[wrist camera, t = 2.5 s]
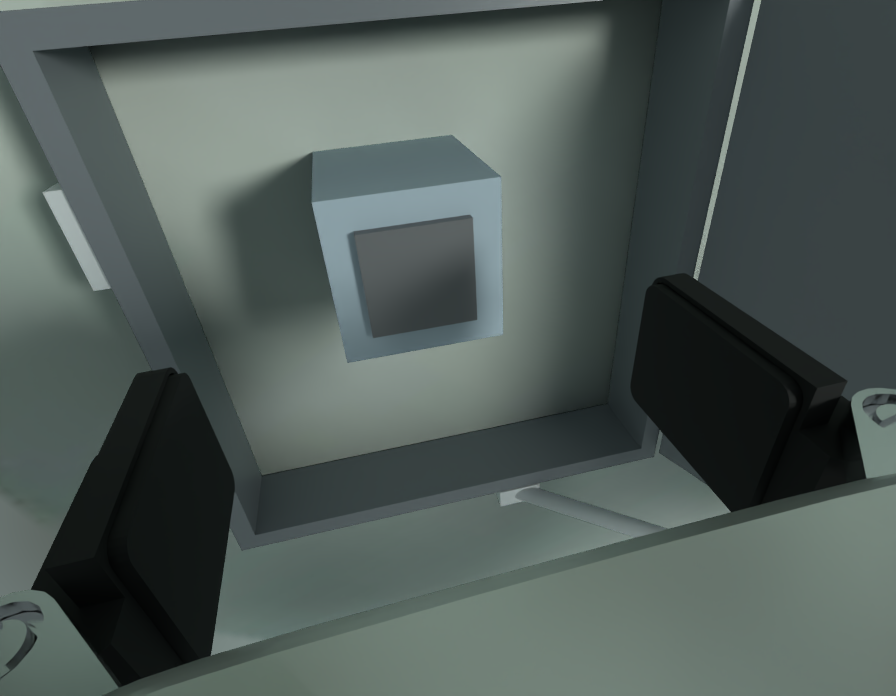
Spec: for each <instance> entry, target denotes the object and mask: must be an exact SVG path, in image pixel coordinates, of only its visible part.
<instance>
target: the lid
mask: <svg viewBox="0 0 896 696" xmlns="http://www.w3.org/2000/svg"><path fill="white" fill-rule="evenodd" d="M698 281H699V282H700V283H702V284H703V285H705V286H706V287H708V288H709V289H711V290H712V291H714V292H715V293H717V294H718V295H720V296H721V297H723V298H724V299H726V300H727V301H729V302H730V303H732V304H733V305H735V306H736V307H738V308H739V309H741V310H742V311H744V312H745V313H747V314H748V315H750V316H751V317H753V318H754V319H756V320H757V321H759V322H760V323H762V324H763V325H765V326H766V327H768V328H769V329H771V330H772V331H774V332H775V333H777V334H778V335H780V336H781V337H783V338H784V339H786V340H787V341H789V342H790V343H792V344H793V345H795V346H796V347H798V348H799V349H801V350H802V351H804V352H805V353H807V354H808V355H810V356H811V357H813V358H814V359H816V360H817V361H819V362H820V363H822V364H823V365H825V366H826V367H828V368H829V369H831V370H832V371H834V372H835V373H837V374H838V375H840V376H841V377H843V378H844V379H846V380H847V381H848V382H847V384H846V386H845V388H844V390H843V392H842V394H841V395H842V396H843V397H845V398H846V399H847V400H849V401H850V400H851V398H852V397H853V396H854V395H855V394H856V393H857V392H859V391H862V390H865V389H870V388H887V389H895V390H896V0H761V4H760V9H759V13H758V18H757V22H756V26H755V31H754V35H753V40H752V44H751V48H750V53H749V57H748V62H747V66H746V71H745V75H744V79H743V84H742V88H741V93H740V97H739V101H738V106H737V110H736V115H735V119H734V123H733V128H732V132H731V137H730V141H729V146H728V150H727V154H726V159H725V163H724V168H723V172H722V176H721V181H720V185H719V190H718V194H717V198H716V203H715V207H714V212H713V216H712V220H711V225H710V229H709V234H708V238H707V243H706V247H705V251H704V256H703V260H702V265H701V269H700V273H699V278H698ZM659 453H660V454H662V455H663V456H665V457H666V458H668V459H669V460H671V461H672V462H674V463H675V464H677V465H678V466H680V467H681V468H683V469H684V470H686V471H687V472H689V473H690V474H692V475H693V476H695V477H696V478H698V479H699V480H701V481H702V482H704V483H705V484H706V482H705V481H704V480H703V479H702V478H701V477H700V475H699V474H698V473H697V472H696V471H695V470H694V469H693V467H692V466H691V465H690V464H689V463H688V462H687V460H686V459H685V458H684V457H683V456H682V455H681V454H680V452H679V451H678V450H677V449H676V448H675V447H674V445H673V444H672V443H671V442H670V441H669V440H668V439H667V437H666V436H665V435H664V434H663V437H662V441H661V445H660V450H659Z"/></svg>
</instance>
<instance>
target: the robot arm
mask: <svg viewBox="0 0 896 696" xmlns="http://www.w3.org/2000/svg"><path fill="white" fill-rule="evenodd" d="M847 382H848V381H847V380H846V379H844V378H843V377H841V376H840V375H838V374H837V373H835V372H834V371H832V370H831V369H829V368H828V367H826V366H825V365H823V364H822V363H820V362H819V361H817V360H816V359H814V358H813V357H811V356H810V355H808V354H807V353H805V352H804V351H802V350H801V349H799V348H798V347H796V346H795V345H793V344H792V343H790V342H789V341H787V340H786V339H784V338H783V337H781V336H780V335H778V334H777V333H775V332H774V331H772V330H771V329H769V328H768V327H766V326H765V325H763V324H762V323H760V322H759V321H757V320H756V319H754V318H753V317H751V316H750V315H748V314H747V313H745V312H744V311H742V310H741V309H739V308H738V307H736V306H735V305H733V304H732V303H730V302H729V301H727V300H726V299H724V298H723V297H721V296H720V295H718V294H717V293H715V292H714V291H712V290H711V289H709V288H708V287H706V286H705V285H703V284H702V283H700V282H699V281H697V280H696V279H694V278H693V277H691V276H690V275H688V274H685V273H679V274H674V275H669V276H663V277H658V278H657V279H655V280H654V282H653V283H652V285H651V286H649V287H648V288H647V290H646V293H645V299H644V305H643V311H642V317H641V323H640V329H639V335H638V341H637V347H636V353H635V359H634V365H633V371H632V377H631V383H630V389H631V394H632V396H633V399H634V400H635V402H636V403H637V404H638V405H639V406H640V407H641V408H642V410H643V411H644V412H645V413H646V414H647V415H648V417H649V418H650V419H651V420H652V421H653V422H654V423H655V425H656V426H657V427H658V428H659V429H660V430H661V432H662V433H663V434H664V435H665V436H666V437H667V439H668V440H669V441H670V442H671V443H672V444H673V445H674V447H675V448H676V449H677V450H678V451H679V452H680V454H681V455H682V456H683V457H684V458H685V459H686V460H687V462H688V463H689V464H690V465H691V466H692V467H693V469H694V470H695V471H696V472H697V473H698V474H699V475H700V477H701V478H702V479H703V480H704V481H705V482H706V484H707V485H708V486H709V487H710V488H711V489H712V490H713V492H714V493H715V494H716V495H717V496H718V497H719V499H720V500H721V501H722V502H723V503H724V504H725V505H726V507H727V508H728V509H729V510H730V511H731V513H727V514H723V515H720V516H716V517H712V518H708V519H704V520H701V521H697V522H693V523H689V524H685V525H682V526H678V527H674V528H670V529H667V530H663V531H659V532H655V533H651V534H648V535H644V536H640V537H637V538H633V539H629V540H625V541H622V542H618V543H614V544H611V545H607V546H603V547H599V548H596V549H592V550H588V551H584V552H581V553H577V554H573V555H570V556H566V557H562V558H559V559H555V560H551V561H547V562H544V563H540V564H536V565H533V566H529V567H525V568H522V569H518V570H514V571H511V572H507V573H503V574H499V575H496V576H492V577H488V578H485V579H481V580H477V581H474V582H470V583H466V584H463V585H459V586H456V587H452V588H448V589H445V590H441V591H437V592H434V593H430V594H426V595H423V596H419V597H416V598H412V599H408V600H405V601H401V602H397V603H394V604H390V605H387V606H383V607H379V608H376V609H372V610H368V611H365V612H361V613H358V614H354V615H350V616H347V617H343V618H339V619H336V620H332V621H329V622H325V623H321V624H318V625H314V626H311V627H307V628H304V629H300V630H297V631H294V632H290V633H287V634H283V635H280V636H276V637H273V638H270V639H266V640H263V641H259V642H256V643H253V644H249V645H246V646H242V647H239V648H236V649H232V650H229V651H225V652H222V653H218V654H215V655H212V656H211V651H212V643H213V637H214V630H215V624H216V617H217V610H218V603H219V596H220V589H221V582H222V575H223V568H224V562H225V555H226V548H227V541H228V534H229V527H230V520H231V513H232V507H233V500H234V493H235V481H234V476H233V473H232V470H231V468H230V466H229V463H228V461H227V459H226V457H225V455H224V452H223V450H222V448H221V446H220V443H219V441H218V439H217V437H216V435H215V432H214V430H213V428H212V426H211V423H210V421H209V419H208V417H207V415H206V412H205V410H204V408H203V406H202V403H201V401H200V399H199V397H198V395H197V392H196V390H195V388H194V386H193V383H192V381H191V379H190V377H189V376H188V375H187V373H180V374H178V373H177V371H176V370H175V369H174V368H172V367H169V368H164V369H158V370H153V371H148V372H142V373H138V374H137V375H136V376H135V377H134V380H133V382H132V384H131V386H130V388H129V390H128V392H127V394H126V397H125V399H124V401H123V403H122V405H121V407H120V409H119V411H118V414H117V416H116V418H115V420H114V422H113V424H112V426H111V428H110V431H109V433H108V435H107V437H106V439H105V441H104V443H103V445H102V448H101V450H100V452H99V454H98V455H97V456H96V457H95V458H94V460H93V461H92V463H91V464H90V467H89V469H88V471H87V473H86V475H85V477H84V479H83V481H82V483H81V485H80V488H79V490H78V492H77V494H76V496H75V498H74V500H73V502H72V504H71V506H70V509H69V511H68V513H67V515H66V517H65V519H64V521H63V523H62V525H61V527H60V529H59V532H58V534H57V536H56V538H55V540H54V542H53V544H52V546H51V549H50V551H49V553H48V555H47V557H46V559H45V561H44V563H43V565H42V568H41V569H40V572H39V573H38V576H37V578H36V580H35V582H34V584H33V586H32V588H31V590H25V591H20V592H14V593H10V594H8V595H6V596H3V597H0V696H896V390H895V389H887V388H870V389H865V390H862V391H859V392H857V393H856V394H855V395H854V396H853V397H852V398H851V400H850V401H849V400H847V399H846V398H845V397H843V396H842V395H841V394H842V392H843V390H844V388H845V386H846V384H847Z"/></svg>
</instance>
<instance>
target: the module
mask: <svg viewBox="0 0 896 696" xmlns="http://www.w3.org/2000/svg"><path fill="white" fill-rule="evenodd" d="M312 207H313V211H314V215H315V220H316V224H317V229H318V233H319V238H320V242H321V247H322V251H323V256H324V260H325V265H326V269H327V273H328V278H329V282H330V287H331V291H332V296H333V300H334V305H335V309H336V314H337V318H338V323H339V327H340V332H341V336H342V340H343V345H344V349H345V354H346V358H347V363H349V362H355V361H360V360H366V359H371V358H377V357H382V356H388V355H394V354H399V353H405V352H410V351H416V350H421V349H427V348H432V347H438V346H443V345H449V344H454V343H460V342H465V341H471V340H476V339H482V338H487V337H493V336H498V335H503V284H502V202H501V176H500V175H498V174H497V173H496V172H495V171H494V170H493V169H491V168H490V167H489V166H488V165H487V164H486V163H484V162H483V161H482V160H481V159H480V158H478V157H477V156H476V155H475V154H474V153H473V152H471V151H470V150H469V149H468V148H467V147H466V146H464V145H463V144H462V143H461V142H460V141H458V140H457V139H456V138H455V137H454V136H453V135H447V136H439V137H431V138H423V139H415V140H406V141H398V142H390V143H382V144H374V145H366V146H357V147H349V148H341V149H333V150H325V151H316V152H313V162H312Z"/></svg>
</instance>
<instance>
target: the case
mask: <svg viewBox="0 0 896 696" xmlns="http://www.w3.org/2000/svg"><path fill="white" fill-rule="evenodd" d="M589 1H601V0H138V1H125V2H112V3H100V4H87V5H74V6H61V7H48V8H35V9H23V10H10V11H0V65H1V67H2V69H3V71H4V73H5V75H6V77H7V79H8V81H9V83H10V85H11V87H12V89H13V91H14V93H15V95H16V97H17V99H18V101H19V103H20V105H21V107H22V109H23V111H24V113H25V115H26V117H27V119H28V121H29V123H30V125H31V127H32V129H33V131H34V133H35V135H36V137H37V139H38V141H39V143H40V145H41V148H42V150H43V152H44V154H45V156H46V158H47V160H48V162H49V164H50V166H51V168H52V170H53V172H54V174H55V176H56V178H57V180H58V183H56V184H55V185H53V186H51V187H50V188H48V189H47V190H45V191H44V192H42V193H43V195H44V196H45V198H46V200H47V202H48V204H49V206H50V208H51V210H52V212H53V214H54V216H55V218H56V220H57V221H58V223H59V225H60V227H61V229H62V231H63V233H64V235H65V237H66V239H67V241H68V243H69V245H70V246H71V248H72V250H73V252H74V254H75V256H76V258H77V260H78V262H79V264H80V266H81V268H82V269H83V271H84V273H85V275H86V277H87V279H88V281H89V283H90V285H91V287H92V289H93V291H98V290H104V289H111V288H112V290H113V292H114V294H115V296H116V298H117V300H118V302H119V304H120V307H121V309H122V311H123V313H124V315H125V317H126V319H127V321H128V323H129V325H130V327H131V329H132V331H133V333H134V335H135V337H136V339H137V341H138V343H139V345H140V347H141V349H142V351H143V353H144V355H145V357H146V359H147V361H148V363H149V365H150V367H151V369H152V371H153V370H158V369H164V368H169V367H172V368H174V369H175V370H176V371H177V373H178V374H180V373H187V375H188V376H189V377H190V379H191V381H192V383H193V386H194V388H195V390H196V392H197V395H198V397H199V399H200V401H201V403H202V406H203V408H204V410H205V412H206V415H207V417H208V419H209V421H210V423H211V426H212V428H213V430H214V432H215V435H216V437H217V439H218V441H219V443H220V446H221V448H222V450H223V452H224V455H225V457H226V459H227V461H228V463H229V466H230V468H231V470H232V473H233V476H234V481H235V493H234V500H233V507H232V513H231V520H230V528H231V530H232V532H233V534H234V536H235V538H236V540H237V542H238V544H239V546H240V548H241V550H246V549H251V548H255V547H259V546H264V545H268V544H273V543H277V542H281V541H286V540H290V539H295V538H299V537H303V536H308V535H312V534H317V533H321V532H325V531H330V530H334V529H338V528H343V527H347V526H352V525H356V524H360V523H365V522H369V521H374V520H378V519H382V518H387V517H391V516H396V515H400V514H404V513H409V512H413V511H418V510H422V509H426V508H431V507H435V506H439V505H444V504H448V503H453V502H457V501H461V500H466V499H470V498H475V497H479V496H483V495H488V494H492V493H496V496H497V498H498V501H499V504H500V506H505V505H510V504H514V503H518V502H523V501H524V502H527V503H531V504H534V505H537V506H540V507H543V508H546V509H549V510H552V511H555V512H558V513H561V514H564V515H567V516H570V517H573V518H576V519H580V520H583V521H586V522H589V523H592V524H595V525H598V526H601V527H604V528H607V529H610V530H613V531H616V532H619V533H622V534H625V535H629V536H632V537H635V538H637V537H640V536H644V535H648V534H651V533H655V532H659V531H663V530H667V528H664V527H661V526H658V525H654V524H651V523H648V522H645V521H642V520H638V519H635V518H632V517H629V516H626V515H622V514H619V513H616V512H613V511H610V510H606V509H603V508H600V507H597V506H594V505H590V504H587V503H584V502H581V501H577V500H574V499H571V498H568V497H565V496H561V495H558V494H555V493H552V492H549V491H545V490H542V489H540V483H541V482H545V481H549V480H554V479H558V478H562V477H567V476H571V475H576V474H580V473H584V472H589V471H593V470H598V469H602V468H606V467H611V466H615V465H620V464H624V463H628V462H633V461H637V460H642V459H646V458H650V457H654V453H655V448H656V444H657V439H658V435H659V430H660V429H659V428H658V427H657V426H656V425H655V423H654V422H653V421H652V420H651V419H650V418H649V417H648V415H647V414H646V413H645V412H644V411H643V410H642V408H641V407H640V406H639V405H638V404H637V403H636V402H635V400H634V399H633V396H632V394H631V389H630V383H631V377H632V371H633V365H634V359H635V353H636V347H637V341H638V335H639V329H640V323H641V317H642V311H643V305H644V299H645V293H646V290H647V288H648V287H649V286H651V285H652V283H653V282H654V280H655V279H657V278H658V277H663V276H669V275H674V274H679V273H685V274H688V275H690V276H691V277H693V276H694V271H695V266H696V262H697V257H698V253H699V248H700V244H701V239H702V235H703V230H704V226H705V221H706V216H707V212H708V207H709V203H710V198H711V194H712V189H713V185H714V180H715V176H716V171H717V167H718V162H719V157H720V153H721V148H722V144H723V139H724V135H725V130H726V126H727V121H728V117H729V112H730V107H731V103H732V98H733V94H734V89H735V85H736V80H737V76H738V71H739V67H740V62H741V57H742V53H743V48H744V44H745V39H746V35H747V30H748V26H749V21H750V17H751V12H752V7H753V3H754V0H662V7H661V15H660V22H659V29H658V37H657V44H656V51H655V59H654V66H653V73H652V80H651V88H650V95H649V102H648V110H647V117H646V124H645V132H644V139H643V146H642V154H641V161H640V168H639V176H638V183H637V190H636V198H635V205H634V212H633V220H632V227H631V234H630V242H629V249H628V256H627V264H626V271H625V278H624V286H623V293H622V300H621V308H620V315H619V322H618V330H617V337H616V344H615V352H614V359H613V366H612V374H611V381H610V388H609V396H608V403H607V404H605V405H600V406H595V407H591V408H586V409H581V410H576V411H571V412H567V413H562V414H557V415H552V416H547V417H543V418H538V419H533V420H528V421H523V422H519V423H514V424H509V425H504V426H500V427H495V428H490V429H485V430H480V431H476V432H471V433H466V434H461V435H456V436H452V437H447V438H442V439H437V440H433V441H428V442H423V443H418V444H413V445H409V446H404V447H399V448H394V449H389V450H385V451H380V452H375V453H370V454H365V455H361V456H356V457H351V458H346V459H342V460H337V461H332V462H327V463H322V464H318V465H313V466H308V467H303V468H298V469H294V470H289V471H284V472H279V473H275V474H270V475H265V476H262V475H261V473H260V470H259V468H258V465H257V463H256V460H255V458H254V455H253V453H252V450H251V448H250V445H249V443H248V440H247V438H246V436H245V433H244V431H243V428H242V426H241V423H240V421H239V418H238V416H237V413H236V411H235V408H234V406H233V403H232V401H231V398H230V396H229V394H228V391H227V389H226V386H225V384H224V381H223V379H222V376H221V374H220V371H219V369H218V366H217V364H216V361H215V359H214V356H213V354H212V352H211V349H210V347H209V344H208V342H207V339H206V337H205V334H204V332H203V329H202V327H201V324H200V322H199V319H198V317H197V314H196V312H195V310H194V307H193V305H192V302H191V300H190V297H189V295H188V292H187V290H186V287H185V285H184V282H183V280H182V277H181V275H180V272H179V270H178V268H177V265H176V263H175V260H174V258H173V255H172V253H171V250H170V248H169V245H168V243H167V240H166V238H165V235H164V233H163V230H162V228H161V225H160V223H159V221H158V218H157V216H156V213H155V211H154V208H153V206H152V203H151V201H150V198H149V196H148V193H147V191H146V188H145V186H144V183H143V181H142V179H141V176H140V174H139V171H138V169H137V166H136V164H135V161H134V159H133V156H132V154H131V151H130V149H129V146H128V144H127V141H126V139H125V137H124V134H123V132H122V129H121V127H120V124H119V122H118V119H117V117H116V114H115V112H114V109H113V107H112V104H111V102H110V99H109V97H108V95H107V92H106V90H105V87H104V85H103V82H102V80H101V77H100V75H99V72H98V70H97V67H96V65H95V62H94V60H93V57H92V55H91V53H90V50H89V48H88V46H94V45H105V44H116V43H128V42H139V41H150V40H162V39H173V38H184V37H195V36H207V35H218V34H229V33H240V32H252V31H263V30H274V29H285V28H297V27H308V26H319V25H330V24H342V23H353V22H364V21H375V20H387V19H398V18H409V17H421V16H432V15H443V14H454V13H466V12H477V11H488V10H499V9H511V8H522V7H533V6H544V5H556V4H567V3H578V2H589Z"/></svg>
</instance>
